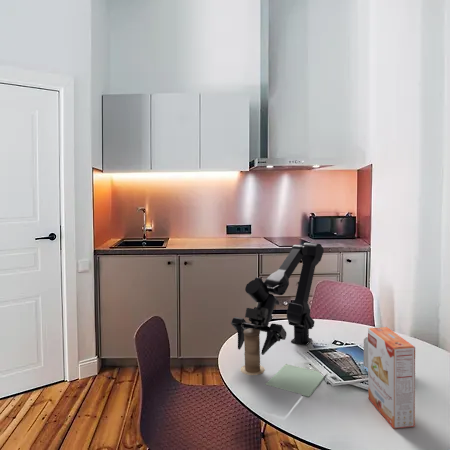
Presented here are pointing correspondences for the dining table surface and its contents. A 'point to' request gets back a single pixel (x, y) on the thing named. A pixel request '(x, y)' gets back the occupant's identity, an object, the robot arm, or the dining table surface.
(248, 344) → the canister
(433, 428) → the dining table surface
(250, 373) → the coaster
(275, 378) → the mat
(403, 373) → the cracker box
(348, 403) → the dining table surface
